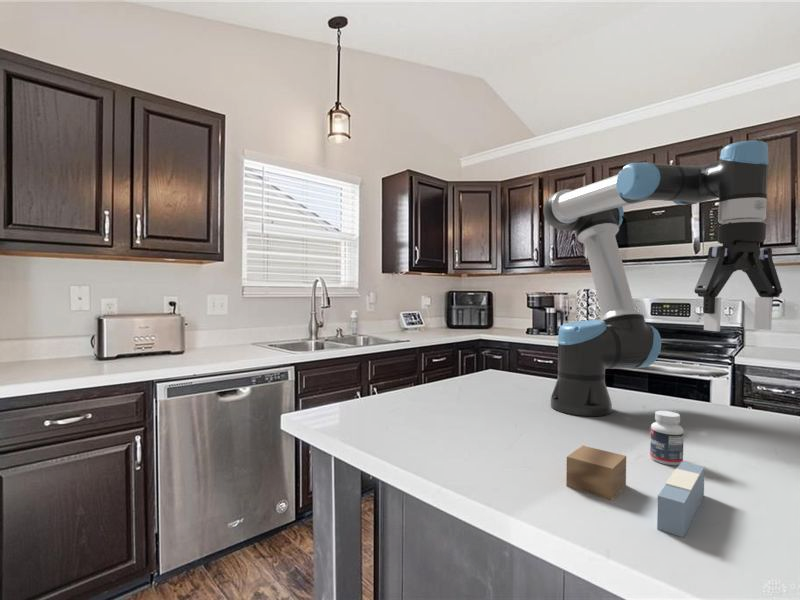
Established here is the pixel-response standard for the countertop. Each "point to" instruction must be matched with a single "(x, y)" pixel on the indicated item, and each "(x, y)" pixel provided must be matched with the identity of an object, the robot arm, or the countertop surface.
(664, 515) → the blue and cream block
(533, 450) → the countertop surface
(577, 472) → the walnut block
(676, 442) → the pill bottle
